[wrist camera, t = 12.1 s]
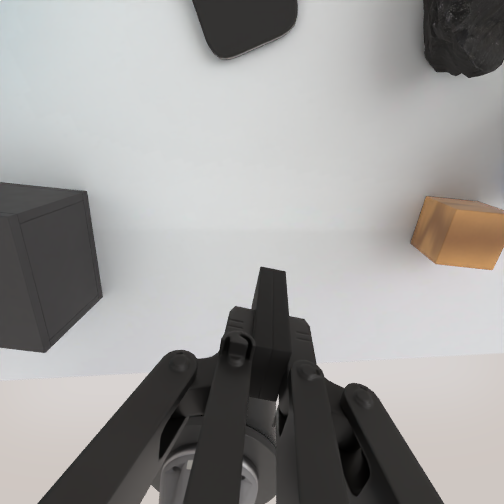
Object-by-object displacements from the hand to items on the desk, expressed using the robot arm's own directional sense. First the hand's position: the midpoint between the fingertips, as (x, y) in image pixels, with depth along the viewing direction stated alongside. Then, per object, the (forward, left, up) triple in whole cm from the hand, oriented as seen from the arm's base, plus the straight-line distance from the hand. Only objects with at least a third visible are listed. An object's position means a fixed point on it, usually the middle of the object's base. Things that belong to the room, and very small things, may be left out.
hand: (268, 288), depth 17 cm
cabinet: (-5, +27, -14) cm, 31 cm away
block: (+2, -17, -14) cm, 22 cm away
